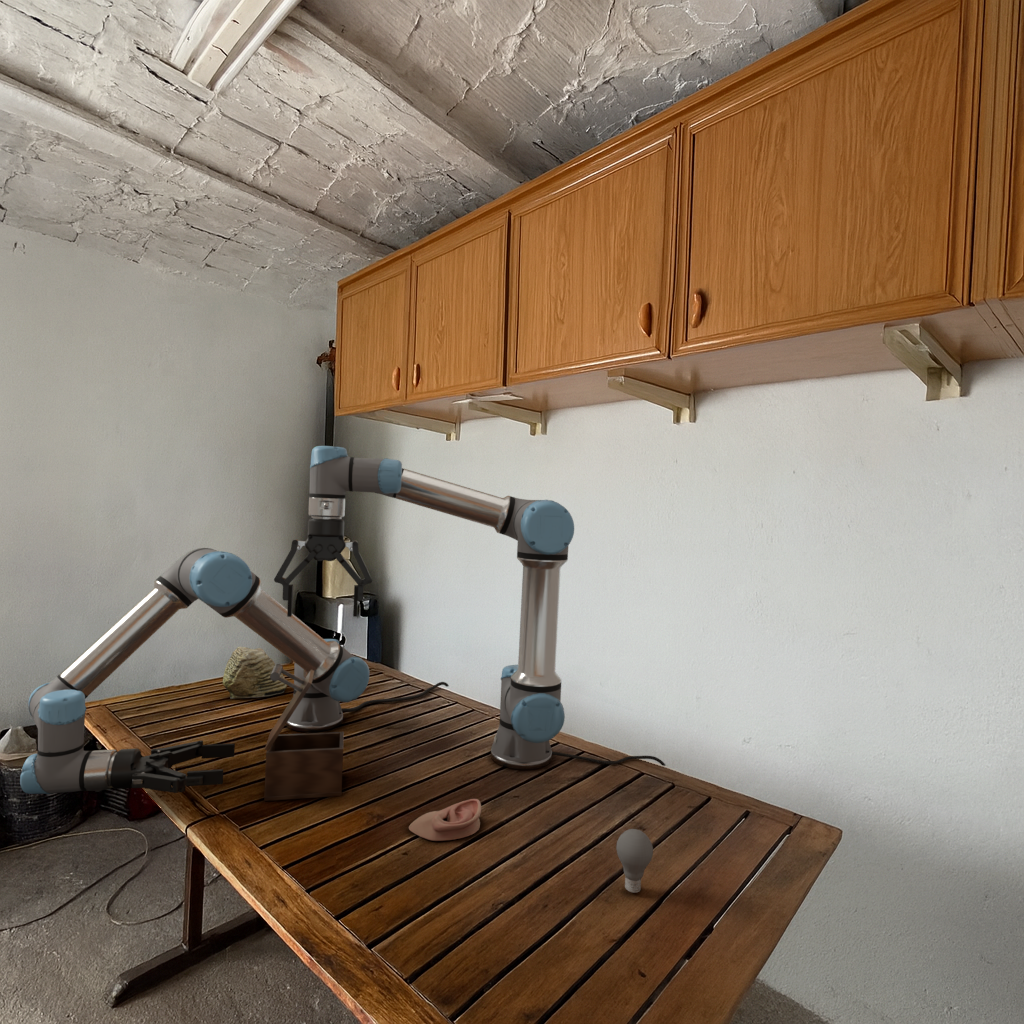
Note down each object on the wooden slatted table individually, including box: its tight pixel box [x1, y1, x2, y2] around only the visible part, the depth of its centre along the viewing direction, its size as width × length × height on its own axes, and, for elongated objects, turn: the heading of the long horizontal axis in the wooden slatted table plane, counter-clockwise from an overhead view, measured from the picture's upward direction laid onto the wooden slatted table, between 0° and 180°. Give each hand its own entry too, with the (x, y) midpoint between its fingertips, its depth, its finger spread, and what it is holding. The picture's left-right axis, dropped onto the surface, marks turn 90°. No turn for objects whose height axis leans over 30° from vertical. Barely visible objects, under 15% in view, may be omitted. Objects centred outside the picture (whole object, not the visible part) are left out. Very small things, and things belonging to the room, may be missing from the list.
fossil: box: [222, 646, 288, 699], centre depth 198 cm, size 9×18×15 cm, turn 132°
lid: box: [264, 663, 314, 752], centre depth 136 cm, size 16×10×8 cm
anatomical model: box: [408, 798, 482, 842], centre depth 124 cm, size 13×4×12 cm
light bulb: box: [615, 828, 654, 894], centre depth 106 cm, size 6×6×10 cm
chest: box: [263, 731, 345, 802], centre depth 137 cm, size 15×10×10 cm, turn 104°
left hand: (229, 762), depth 133 cm, fingers open, 13 cm apart
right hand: (322, 615), depth 137 cm, fingers open, 13 cm apart
